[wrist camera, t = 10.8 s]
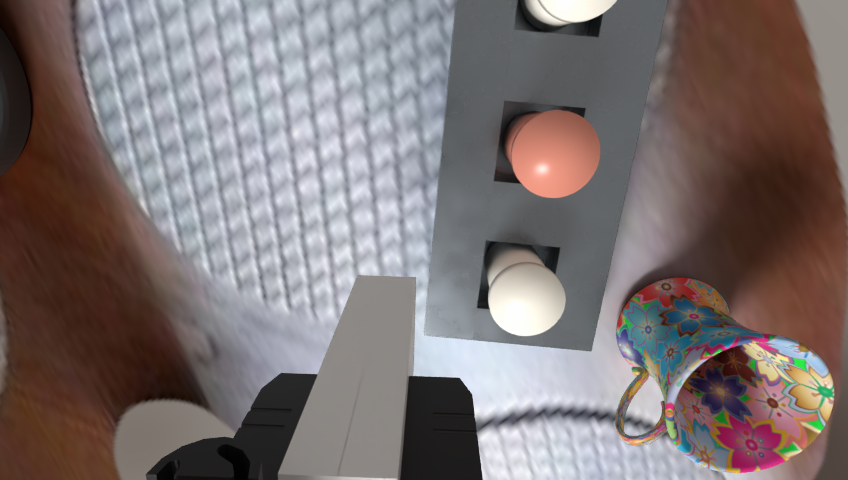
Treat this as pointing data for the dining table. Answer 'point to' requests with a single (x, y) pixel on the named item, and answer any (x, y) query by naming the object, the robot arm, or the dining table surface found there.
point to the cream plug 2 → (562, 12)
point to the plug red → (552, 151)
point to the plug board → (493, 174)
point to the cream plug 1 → (522, 290)
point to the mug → (720, 380)
